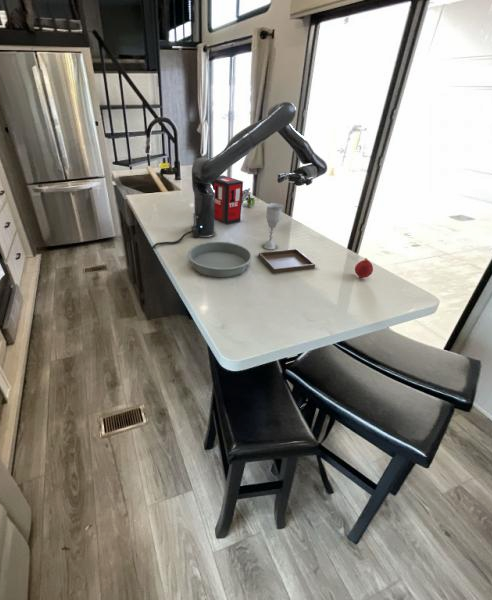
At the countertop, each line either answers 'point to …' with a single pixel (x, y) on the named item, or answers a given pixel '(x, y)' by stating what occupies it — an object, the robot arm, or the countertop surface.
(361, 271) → the onion
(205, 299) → the countertop surface
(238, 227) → the countertop surface
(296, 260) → the tray
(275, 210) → the chalice
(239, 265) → the cake pan
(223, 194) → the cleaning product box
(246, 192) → the passion flower
